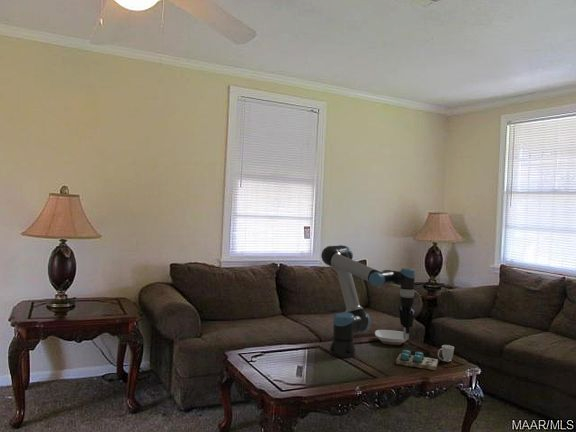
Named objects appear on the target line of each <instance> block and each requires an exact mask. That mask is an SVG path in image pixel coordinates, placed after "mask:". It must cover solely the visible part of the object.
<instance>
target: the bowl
mask: <svg viewBox="0 0 576 432" xmlns="http://www.w3.org/2000/svg"><path fill="white" fill-rule="evenodd" d="M374 335H375V337H376V338H377V339H378V340H379V341H380V342H381V343H382V344H383V345H391V346H401V345H402V344H403V343H405V342H406V341H407V340H408V339H403V330H402V331H399V330H391V329H377V330H375V331H374Z"/></svg>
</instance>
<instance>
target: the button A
mask: <svg viewBox="0 0 576 432" xmlns="http://www.w3.org/2000/svg"><path fill="white" fill-rule="evenodd" d="M400 354H401V360H403V361H408V360H409V354H407V353H403V352H400Z"/></svg>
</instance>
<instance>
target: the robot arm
mask: <svg viewBox="0 0 576 432" xmlns="http://www.w3.org/2000/svg"><path fill="white" fill-rule="evenodd" d="M353 254H354V253H353V251H352V249H351V248H350V247H349V246H347V245H343V244H342V245H341V244H339V245H328V246H326V247H325V248H324V249H322V251H321V255H320V256H321V257H320V258H321V260H322V262H323V263H324V264H325V265H327V266H329V267H331V268H333V270H334V271H336V274H337V278H338V282H339V286H340V289H341V293H342V297H343V301H344V304H345V311H343V312H338V313H336V314H334V316H333V320H332V321H333V326H332V327H333V329H332V330H333V332H332V333H333V334H332V342H331V345H330V347H329V354H330V355H331V356H333V357H337V358H341V359H342V358H353V357H355V356H356V354H357V353H356V352H357V351H356V348H355V343H354V335H355V334H358V333H363V332H364V331H367V330H368V328H370V325H371V318H370V315H369V314H368V313H367V312H366V311H365V308H364V307H362V306H361V304H360V301H359V300H360V299H359V296H358V292H357V288H356V285H355V281H354V277H353V275H354V276H356V277H358V278H361V279H363V280H365V281H367V282H369V283H370V285H371V286H373V287H383V286H389V285H399V286H400V290H399V291H400V292H399V294H400V297H399V303H400V304H401V305H400V306H398V307H397V309H398V314H399V321H400V325H401V326H402V332H403V339H407V340H409V339H410V328H413V325H414V319H415V314H416V313H417V311H416V310H414V309H413V308H414V307H413V305H414V304H415V297H414V296H415V278H416V276H415V275H416V274H415V272H416V271H415V270H414V268H411V267H410V268H407V267H404V268H401V269H400V271H398V270H391V269H383V270H382V271H379V270H377V269H375V268H372V267H370V266H368V265H365V264H363V263H361V262H358V261H356V260H353V258H354V255H353Z"/></svg>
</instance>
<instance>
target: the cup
mask: <svg viewBox="0 0 576 432" xmlns="http://www.w3.org/2000/svg"><path fill="white" fill-rule="evenodd" d="M441 351H442V352H441ZM454 351H455V347H454V346H453V345H450V344H443V345H441V348H439V349H438V352H437V357H438V359H439V360H441V361H443V362H447V363H450V361H451V362H452V359H453V357H454ZM440 352H441V353H442V357H443V359H442V358H441V357H440Z"/></svg>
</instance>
